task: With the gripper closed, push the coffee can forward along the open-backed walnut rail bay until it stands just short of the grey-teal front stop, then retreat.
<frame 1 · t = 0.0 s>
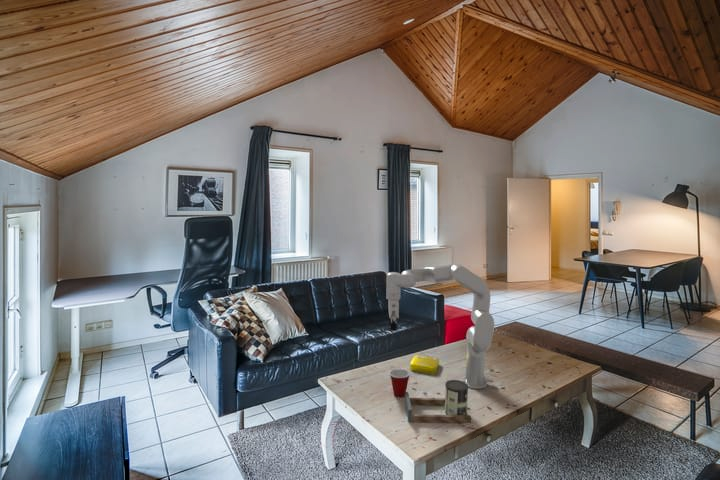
hand: (392, 326, 206), 31 cm above the table, tool pointing down, fingers open, 9 cm apart
plastic cup: (399, 395, 197), on the table
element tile: (424, 368, 230), on the table
bay: (436, 413, 180), on the table
coffee can: (455, 413, 180), on the table
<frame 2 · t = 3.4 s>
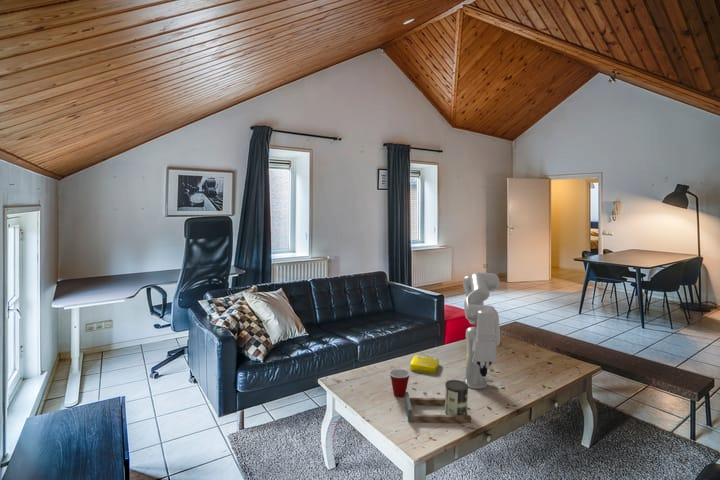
hand: (483, 375, 178), 19 cm above the table, tool pointing down, fingers closed
nothing on the table moved.
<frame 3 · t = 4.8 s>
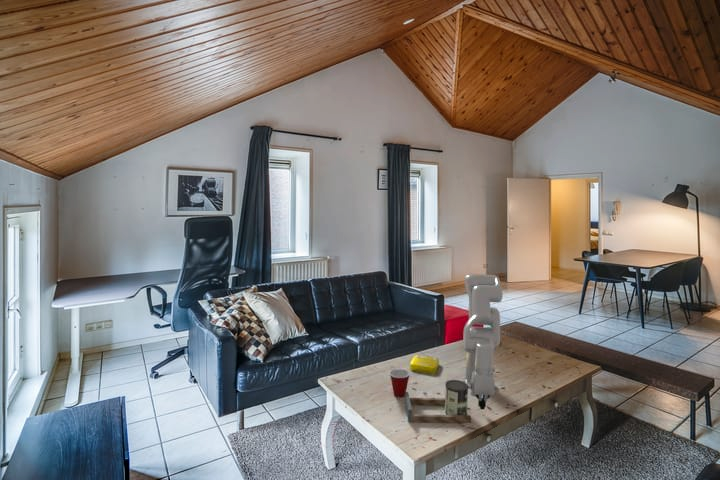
hand: (481, 407, 179), 3 cm above the table, tool pointing down, fingers closed
nothing on the table moved.
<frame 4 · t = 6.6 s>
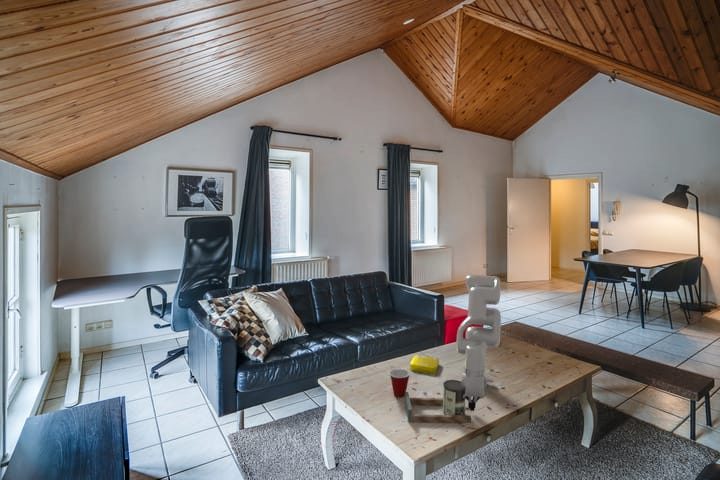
hand: (471, 409, 180), 2 cm above the table, tool pointing down, fingers closed
coffee can: (453, 413, 180), on the table, touching gripper
everything else where it was.
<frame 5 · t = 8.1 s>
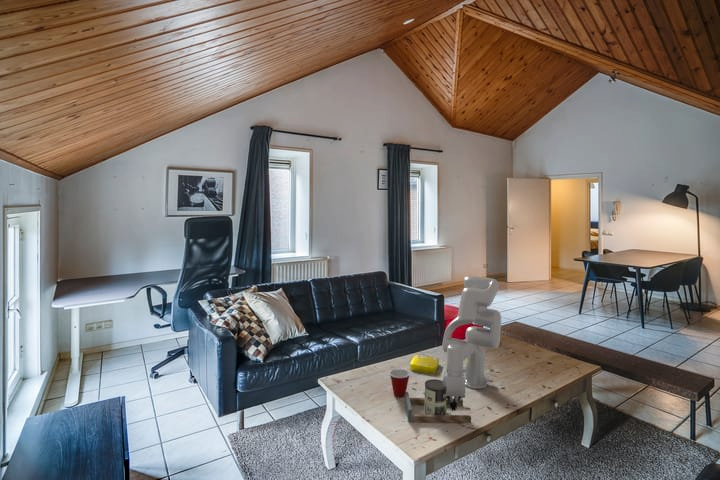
hand: (453, 409, 180), 2 cm above the table, tool pointing down, fingers closed
coffee can: (435, 413, 181), on the table, touching gripper
everything else where it was.
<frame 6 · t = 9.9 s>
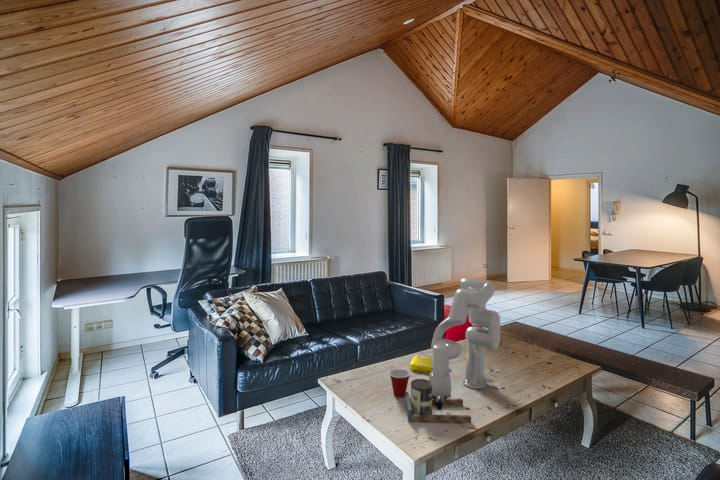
hand: (439, 408, 180), 2 cm above the table, tool pointing down, fingers closed
coffee can: (421, 412, 181), on the table, touching gripper
everything else where it was.
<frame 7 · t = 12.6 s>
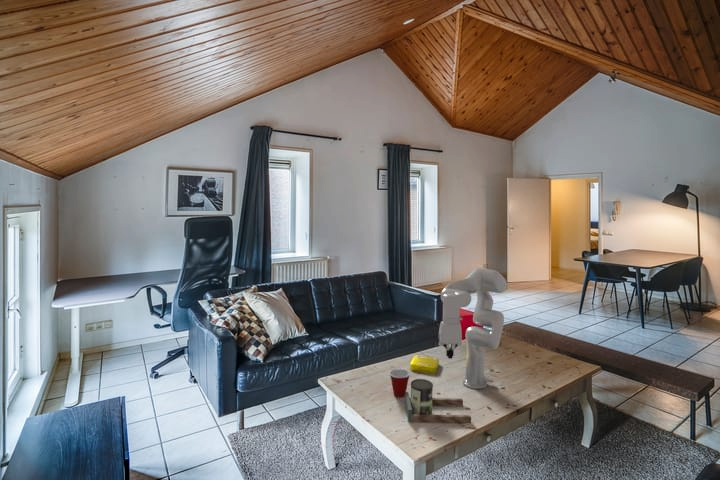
hand: (449, 357, 182), 25 cm above the table, tool pointing down, fingers closed
coffee can: (420, 412, 181), on the table
everything else where it was.
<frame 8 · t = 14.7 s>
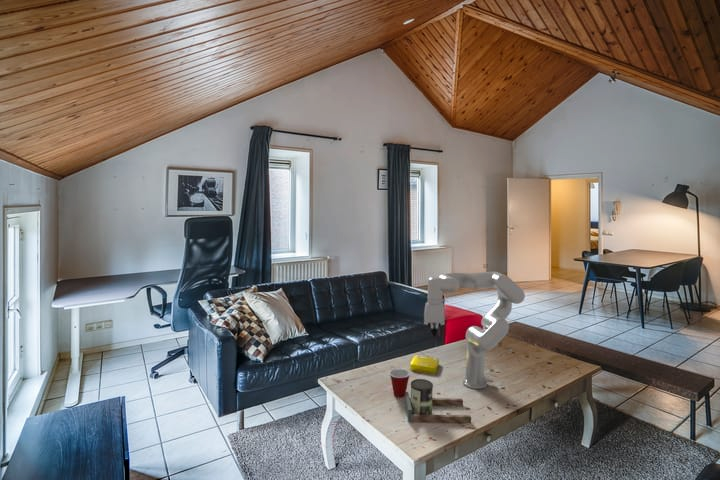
hand: (433, 335, 200), 29 cm above the table, tool pointing down, fingers closed
nothing on the table moved.
at the end: coffee can inside the target area (0.5 cm from its centre), on the table; coffee can moved 16.2 cm from its start; coffee can tilted 0° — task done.
